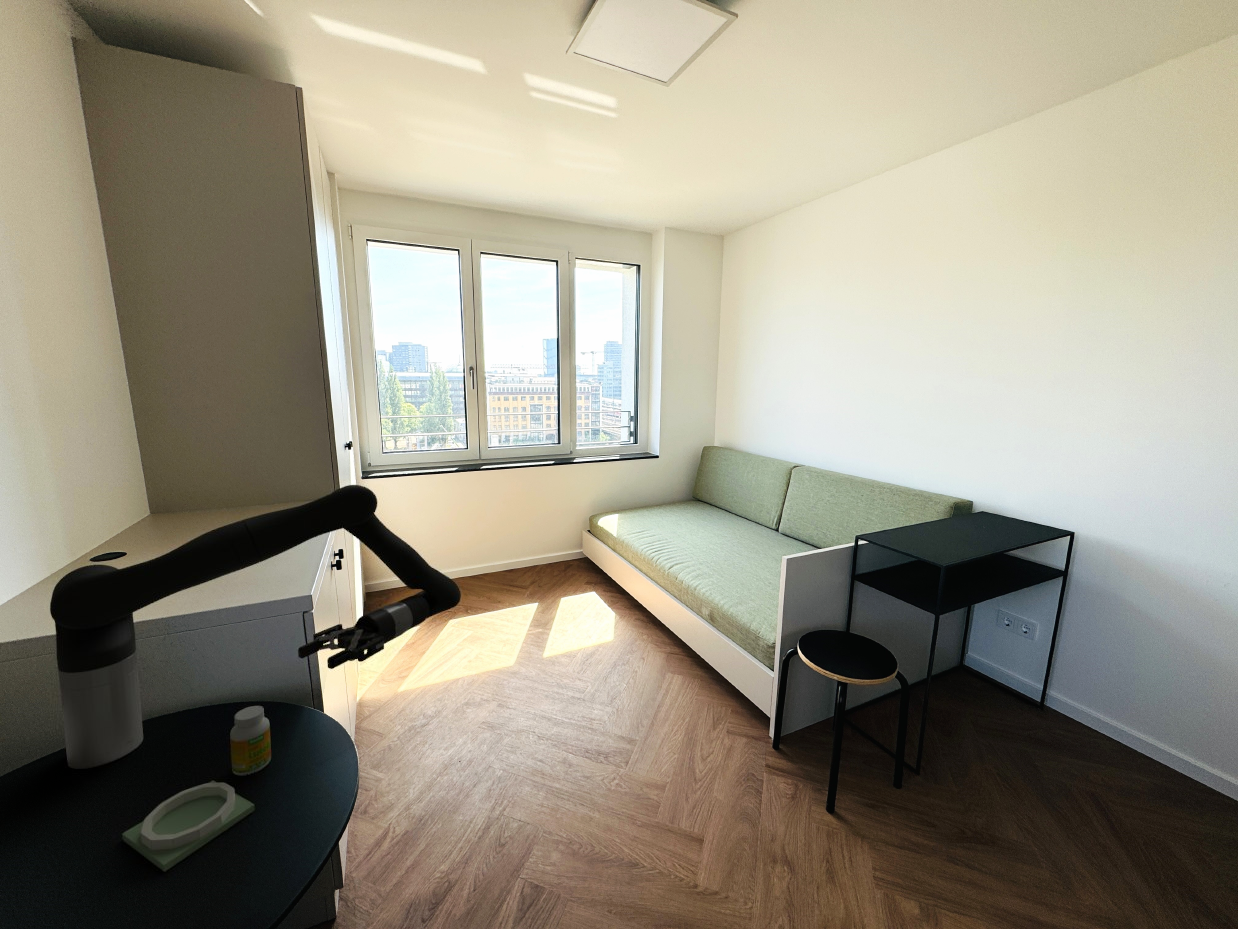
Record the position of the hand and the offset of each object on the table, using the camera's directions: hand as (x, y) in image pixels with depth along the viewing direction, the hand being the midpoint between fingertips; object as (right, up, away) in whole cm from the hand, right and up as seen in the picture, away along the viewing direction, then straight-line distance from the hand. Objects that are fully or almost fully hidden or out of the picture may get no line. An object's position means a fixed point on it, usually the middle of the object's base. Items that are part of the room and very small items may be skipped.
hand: (313, 658), depth 92 cm
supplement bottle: (-5, -15, -9) cm, 18 cm away
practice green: (-5, -16, -21) cm, 27 cm away
